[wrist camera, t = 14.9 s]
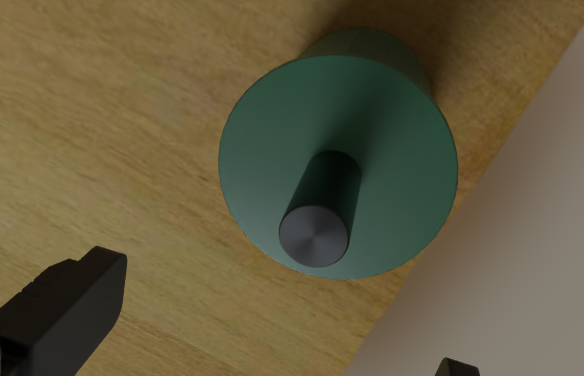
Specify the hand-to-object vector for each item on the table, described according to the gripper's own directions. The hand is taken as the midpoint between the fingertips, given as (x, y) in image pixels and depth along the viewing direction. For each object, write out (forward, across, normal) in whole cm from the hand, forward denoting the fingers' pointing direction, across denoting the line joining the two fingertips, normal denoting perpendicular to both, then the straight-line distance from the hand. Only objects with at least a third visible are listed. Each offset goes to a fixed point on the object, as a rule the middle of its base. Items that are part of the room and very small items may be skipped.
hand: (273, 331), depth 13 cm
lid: (+11, 0, 0) cm, 11 cm away
